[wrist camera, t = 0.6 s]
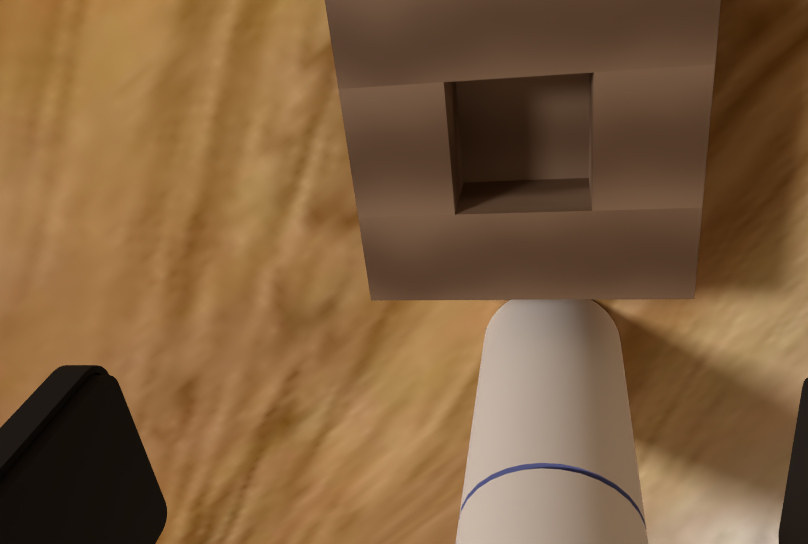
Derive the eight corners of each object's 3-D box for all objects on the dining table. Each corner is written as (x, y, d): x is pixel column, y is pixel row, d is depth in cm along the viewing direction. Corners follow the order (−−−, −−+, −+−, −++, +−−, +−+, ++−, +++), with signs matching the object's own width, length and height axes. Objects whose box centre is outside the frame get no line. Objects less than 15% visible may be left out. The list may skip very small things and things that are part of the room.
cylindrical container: (601, 274, 37) (667, 861, 16) (635, 385, 40) (729, 1009, 18) (466, 306, 39) (362, 857, 18) (507, 409, 42) (460, 988, 21)
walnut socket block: (352, -42, 32) (321, -24, 27) (700, -77, 29) (726, -64, 24) (391, 249, 38) (371, 300, 34) (677, 244, 35) (694, 298, 31)
